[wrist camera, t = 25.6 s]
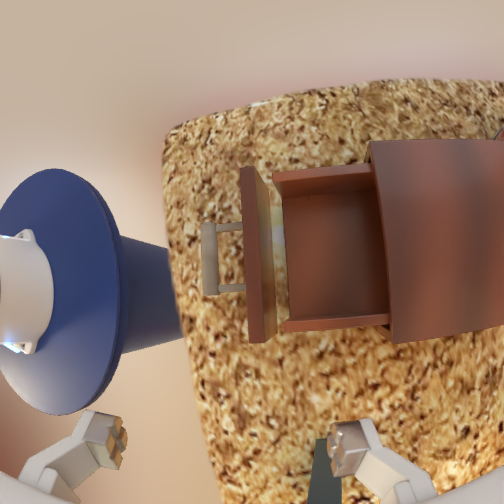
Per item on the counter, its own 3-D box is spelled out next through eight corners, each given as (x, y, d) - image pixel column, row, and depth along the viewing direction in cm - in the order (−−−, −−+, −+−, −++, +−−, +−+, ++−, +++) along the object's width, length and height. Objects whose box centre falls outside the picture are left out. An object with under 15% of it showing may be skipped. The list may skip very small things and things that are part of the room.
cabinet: (376, 330, 26) (392, 344, 19) (360, 176, 28) (368, 141, 21) (504, 310, 23) (546, 313, 15) (485, 171, 25) (517, 141, 17)
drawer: (220, 334, 29) (196, 343, 23) (214, 196, 30) (190, 176, 25) (411, 321, 24) (432, 328, 19) (395, 176, 26) (408, 151, 21)
